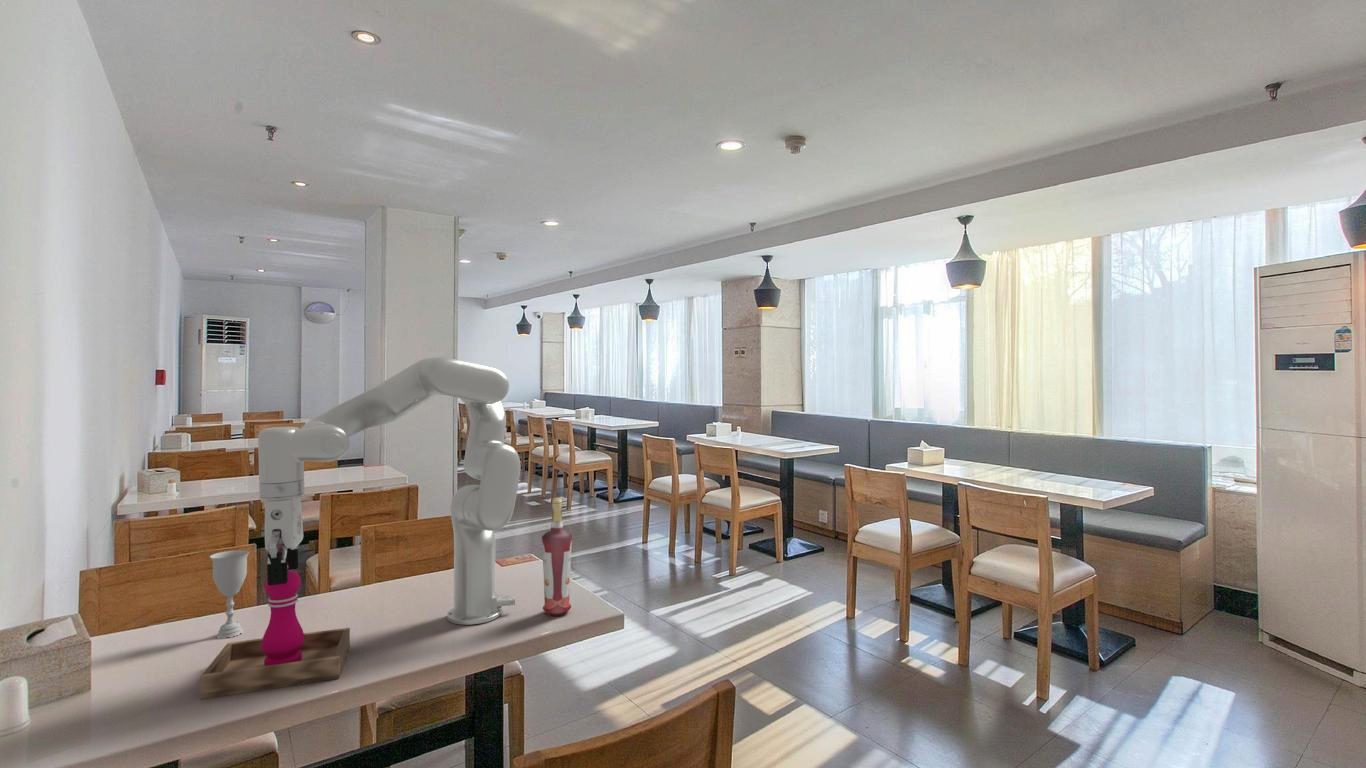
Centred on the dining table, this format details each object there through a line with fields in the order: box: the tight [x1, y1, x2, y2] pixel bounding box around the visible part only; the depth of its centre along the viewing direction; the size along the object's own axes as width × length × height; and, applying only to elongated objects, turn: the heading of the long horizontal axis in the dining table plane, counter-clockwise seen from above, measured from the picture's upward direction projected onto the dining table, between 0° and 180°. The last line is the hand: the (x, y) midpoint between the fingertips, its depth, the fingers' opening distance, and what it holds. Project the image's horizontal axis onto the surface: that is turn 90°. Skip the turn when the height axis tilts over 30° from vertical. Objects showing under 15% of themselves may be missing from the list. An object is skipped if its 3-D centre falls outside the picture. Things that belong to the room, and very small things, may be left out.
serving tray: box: [199, 627, 351, 700], centre depth 125 cm, size 22×16×4 cm
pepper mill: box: [261, 570, 305, 666], centre depth 125 cm, size 7×7×20 cm
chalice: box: [209, 549, 250, 639], centre depth 143 cm, size 7×7×18 cm
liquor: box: [541, 497, 573, 617], centre depth 156 cm, size 7×7×28 cm
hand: (283, 576), depth 125 cm, fingers open, 9 cm apart
